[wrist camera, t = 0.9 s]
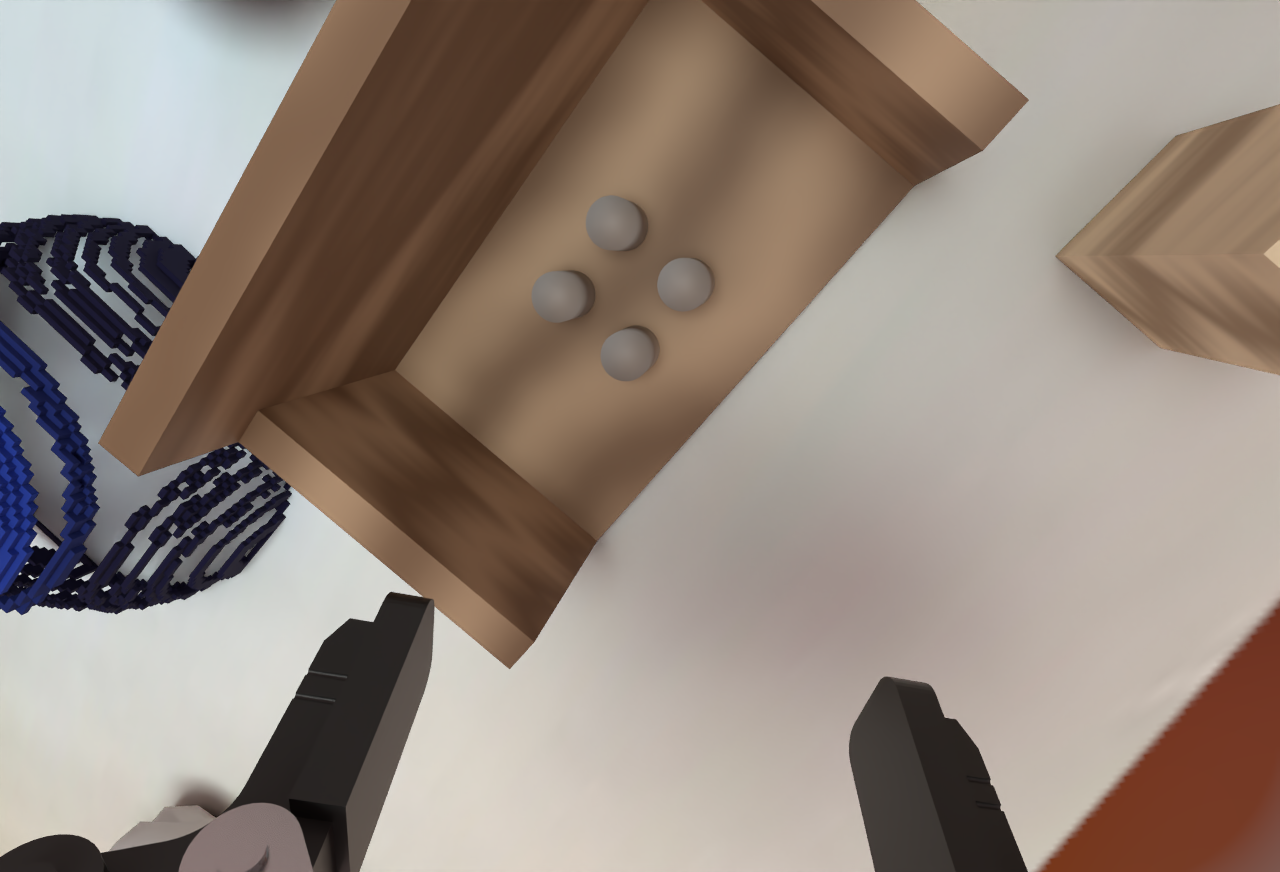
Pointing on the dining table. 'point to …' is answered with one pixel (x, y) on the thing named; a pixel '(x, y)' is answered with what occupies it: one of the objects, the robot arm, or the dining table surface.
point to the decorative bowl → (4, 475)
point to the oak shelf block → (1197, 244)
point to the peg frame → (536, 261)
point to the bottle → (165, 826)
